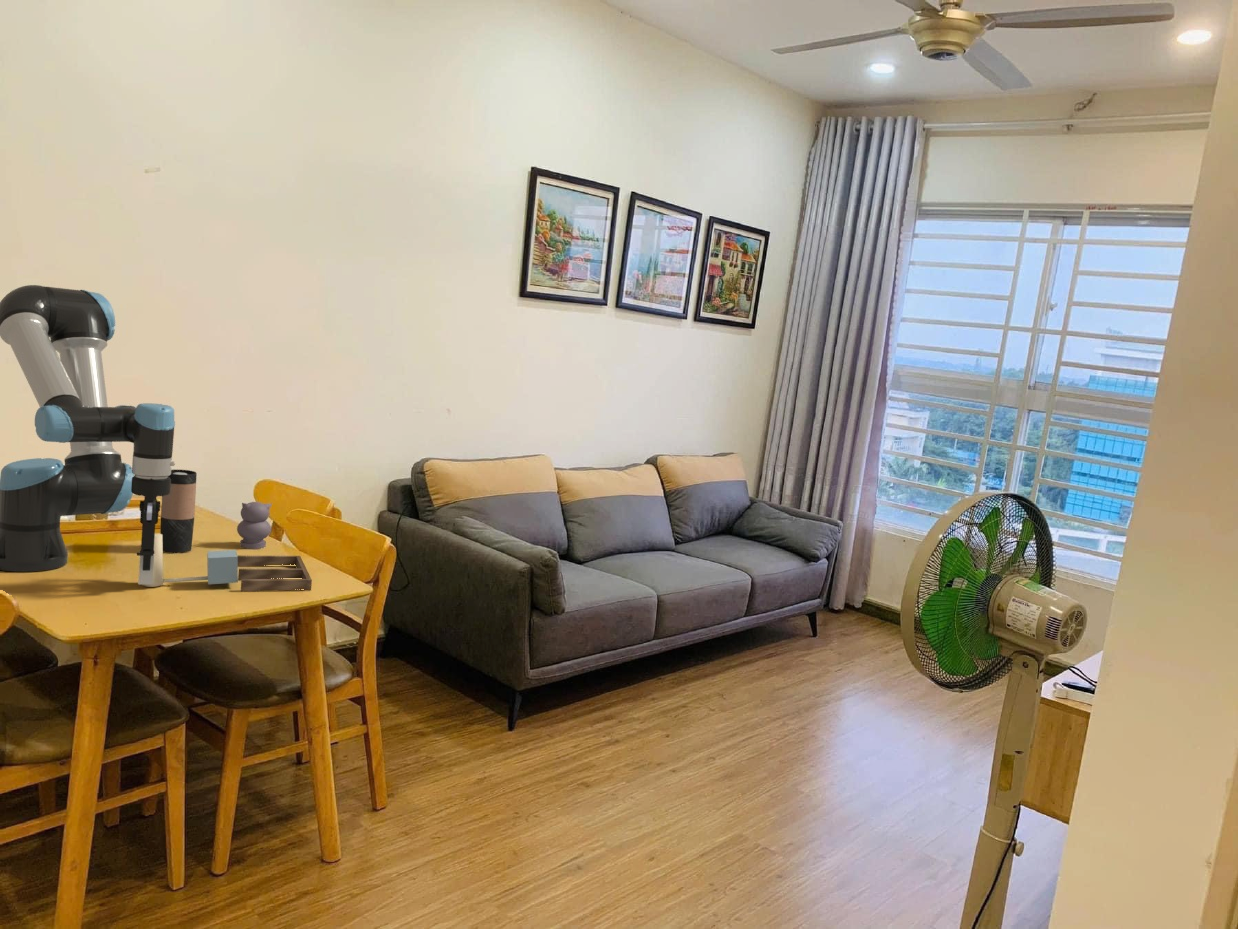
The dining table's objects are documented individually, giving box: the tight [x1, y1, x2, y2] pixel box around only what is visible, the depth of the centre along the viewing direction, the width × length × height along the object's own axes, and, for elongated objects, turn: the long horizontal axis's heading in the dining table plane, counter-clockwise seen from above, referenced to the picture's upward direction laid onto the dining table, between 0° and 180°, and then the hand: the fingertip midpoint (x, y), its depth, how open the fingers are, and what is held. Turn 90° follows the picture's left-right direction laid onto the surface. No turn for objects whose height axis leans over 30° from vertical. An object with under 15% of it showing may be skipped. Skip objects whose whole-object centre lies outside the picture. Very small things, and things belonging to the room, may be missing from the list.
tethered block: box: [142, 532, 239, 588], centre depth 202 cm, size 19×6×11 cm, turn 116°
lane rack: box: [237, 554, 313, 592], centre depth 216 cm, size 15×22×2 cm
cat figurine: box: [236, 501, 273, 550], centre depth 242 cm, size 8×8×12 cm
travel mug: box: [159, 469, 197, 554], centre depth 229 cm, size 8×8×20 cm
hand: (145, 580), depth 199 cm, fingers closed on tethered block, 4 cm apart
